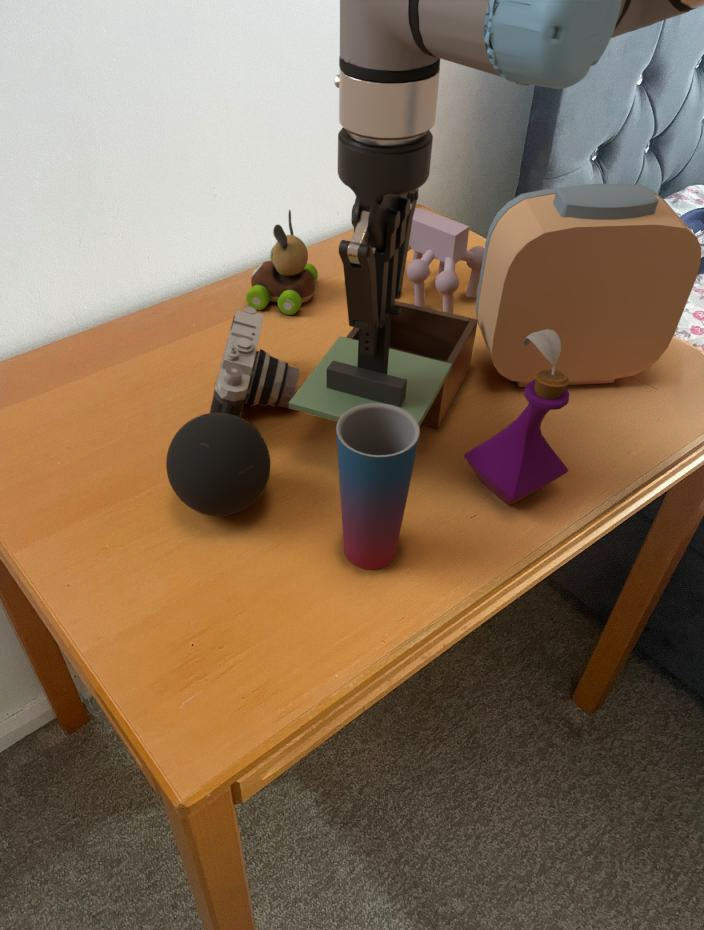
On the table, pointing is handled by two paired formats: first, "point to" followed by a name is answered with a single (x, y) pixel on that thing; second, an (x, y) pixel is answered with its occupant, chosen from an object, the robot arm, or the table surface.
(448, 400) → the walnut box
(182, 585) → the table surface
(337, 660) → the table surface
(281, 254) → the toy car
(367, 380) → the sliding lid
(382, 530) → the cup
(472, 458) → the perfume bottle
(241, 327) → the camera
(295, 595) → the table surface
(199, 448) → the speaker
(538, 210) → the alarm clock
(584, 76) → the robot arm
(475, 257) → the pink legged piece
